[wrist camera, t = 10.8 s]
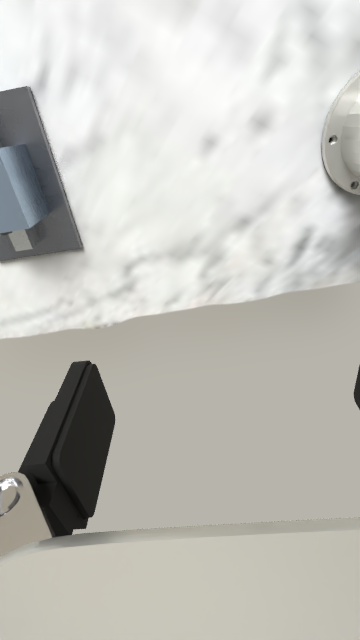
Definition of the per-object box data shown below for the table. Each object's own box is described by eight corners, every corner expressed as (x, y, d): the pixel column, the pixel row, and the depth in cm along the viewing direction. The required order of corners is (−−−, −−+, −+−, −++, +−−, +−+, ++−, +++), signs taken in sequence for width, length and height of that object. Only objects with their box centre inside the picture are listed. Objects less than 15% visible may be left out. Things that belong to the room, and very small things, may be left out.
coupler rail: (29, 87, 31) (15, 83, 28) (82, 245, 39) (75, 255, 36) (-77, 108, 31) (-100, 107, 29) (-3, 259, 40) (-15, 269, 37)
